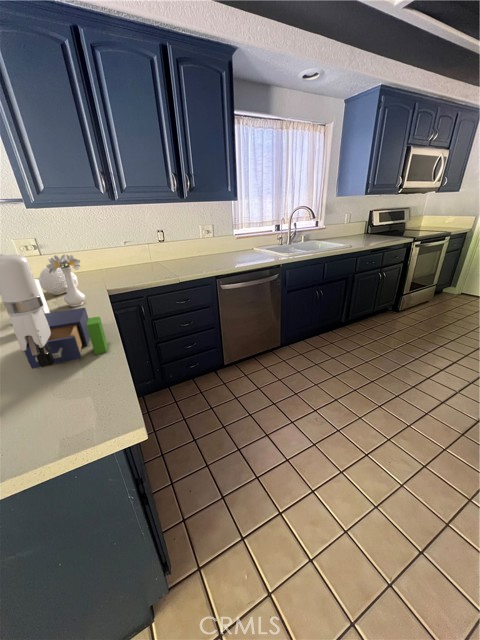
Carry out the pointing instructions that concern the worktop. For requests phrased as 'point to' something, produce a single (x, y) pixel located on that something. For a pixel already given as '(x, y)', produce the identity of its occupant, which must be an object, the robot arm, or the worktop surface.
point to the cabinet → (70, 321)
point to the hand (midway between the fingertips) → (47, 364)
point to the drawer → (61, 345)
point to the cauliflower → (55, 281)
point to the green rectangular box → (97, 335)
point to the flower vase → (68, 278)
